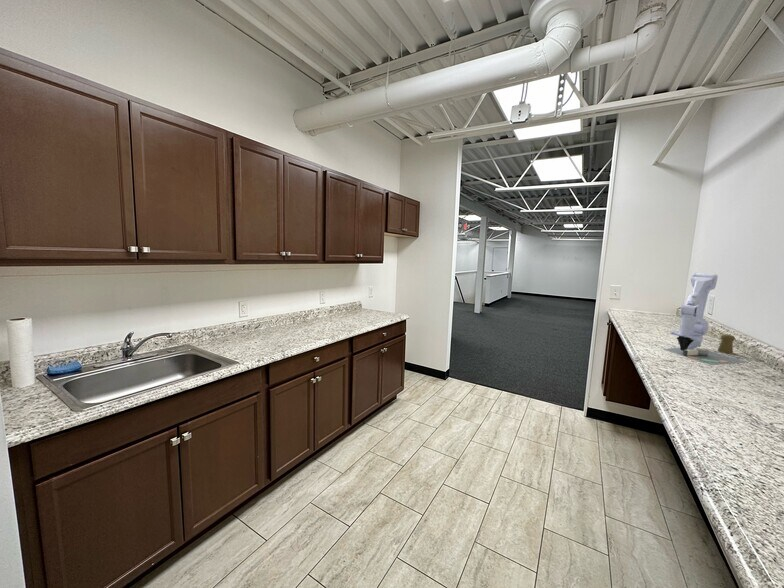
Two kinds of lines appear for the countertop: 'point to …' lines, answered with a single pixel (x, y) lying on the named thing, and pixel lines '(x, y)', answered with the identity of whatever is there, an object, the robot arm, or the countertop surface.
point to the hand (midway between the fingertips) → (683, 350)
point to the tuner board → (707, 357)
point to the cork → (726, 344)
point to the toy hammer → (696, 351)
